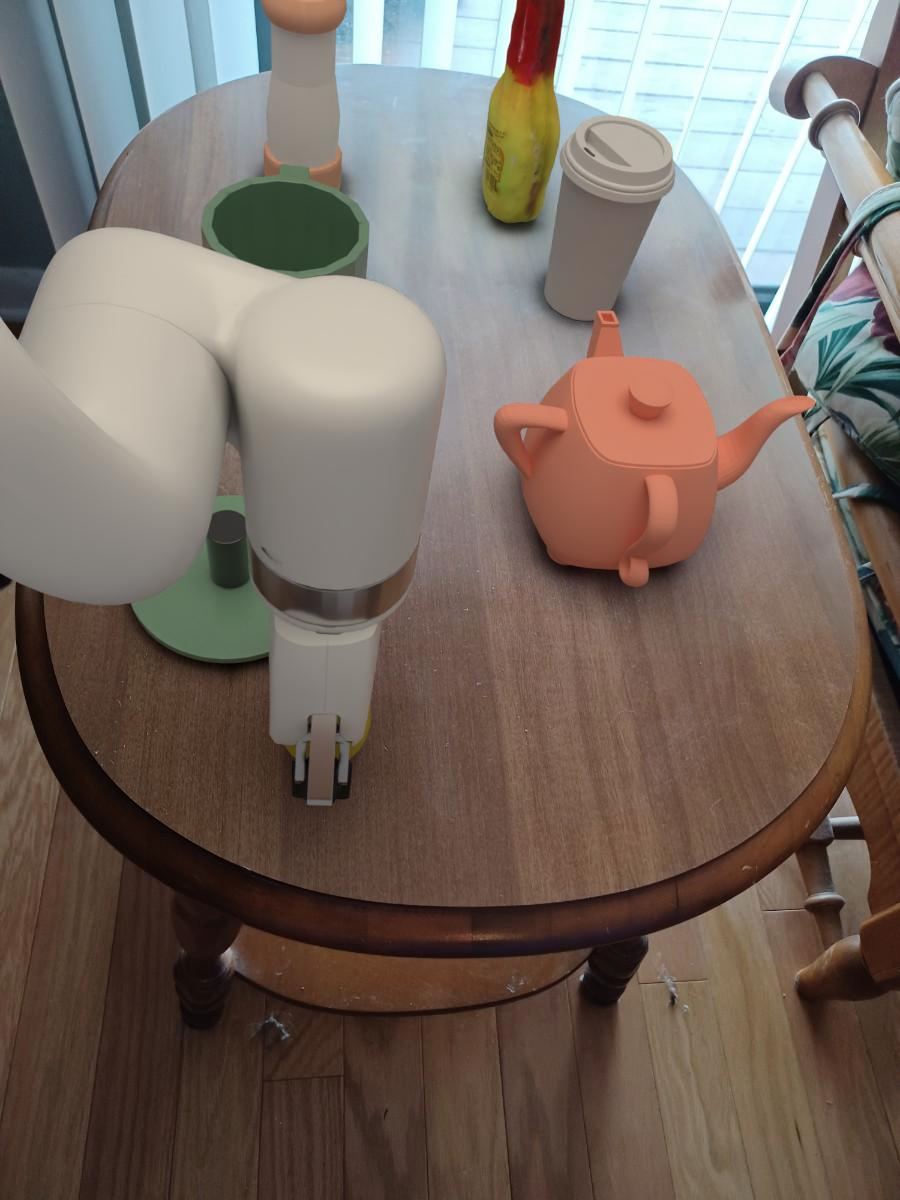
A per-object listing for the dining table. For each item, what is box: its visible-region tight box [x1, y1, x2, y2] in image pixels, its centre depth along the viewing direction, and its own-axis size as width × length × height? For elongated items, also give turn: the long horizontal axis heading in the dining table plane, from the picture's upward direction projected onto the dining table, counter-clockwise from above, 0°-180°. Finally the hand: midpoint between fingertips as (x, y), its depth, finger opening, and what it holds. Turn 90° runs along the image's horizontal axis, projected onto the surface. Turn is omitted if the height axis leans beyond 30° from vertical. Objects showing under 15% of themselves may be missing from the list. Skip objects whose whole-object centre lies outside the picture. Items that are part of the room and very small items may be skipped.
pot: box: [200, 164, 370, 279], centre depth 77 cm, size 13×18×10 cm
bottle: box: [480, 0, 566, 224], centre depth 86 cm, size 12×6×20 cm, turn 6°
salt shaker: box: [260, 0, 348, 191], centre depth 84 cm, size 7×7×19 cm
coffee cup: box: [543, 114, 676, 322], centre depth 81 cm, size 10×10×15 cm
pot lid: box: [129, 494, 270, 664], centre depth 63 cm, size 14×14×6 cm
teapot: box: [492, 310, 816, 588], centre depth 68 cm, size 16×17×14 cm
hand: (325, 719), depth 56 cm, fingers open, 8 cm apart
